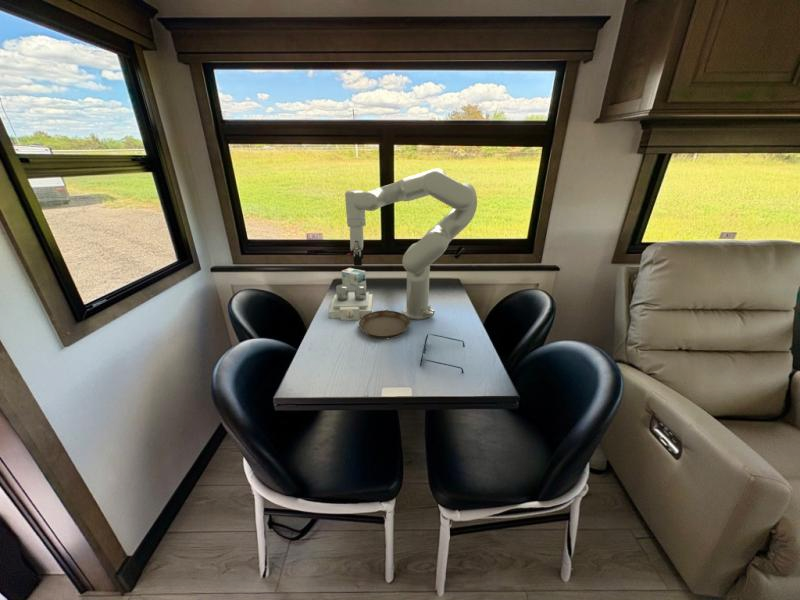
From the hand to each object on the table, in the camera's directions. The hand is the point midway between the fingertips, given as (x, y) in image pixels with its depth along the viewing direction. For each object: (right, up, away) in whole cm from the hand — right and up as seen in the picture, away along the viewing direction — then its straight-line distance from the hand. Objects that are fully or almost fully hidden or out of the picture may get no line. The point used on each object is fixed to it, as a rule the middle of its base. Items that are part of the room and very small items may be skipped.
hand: (358, 261), depth 143 cm
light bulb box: (-6, -12, +28) cm, 31 cm away
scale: (-4, -21, +8) cm, 23 cm away
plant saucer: (+11, -28, -8) cm, 32 cm away
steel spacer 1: (-8, -16, +7) cm, 19 cm away
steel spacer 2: (0, -16, +7) cm, 17 cm away
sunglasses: (+33, -37, -27) cm, 56 cm away
